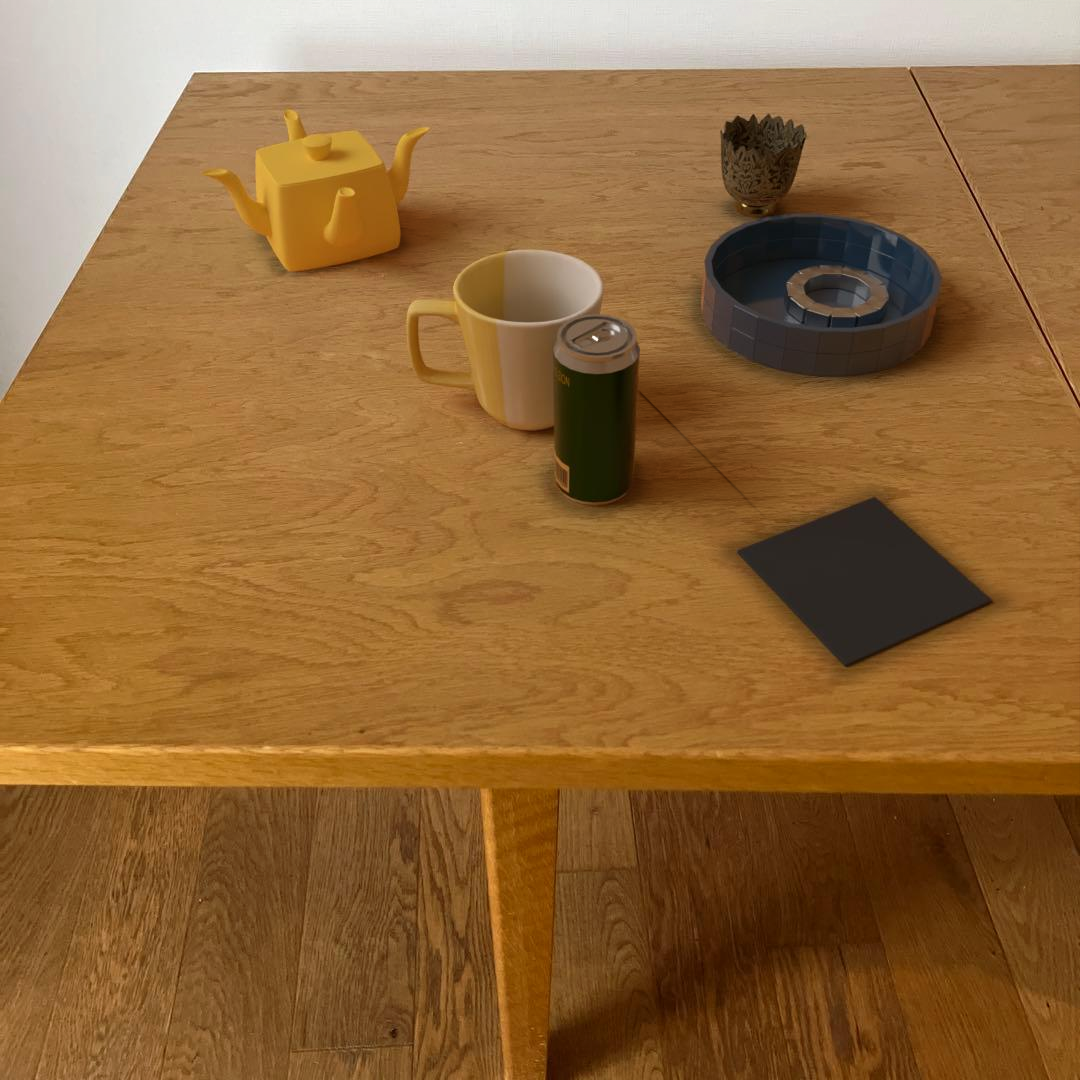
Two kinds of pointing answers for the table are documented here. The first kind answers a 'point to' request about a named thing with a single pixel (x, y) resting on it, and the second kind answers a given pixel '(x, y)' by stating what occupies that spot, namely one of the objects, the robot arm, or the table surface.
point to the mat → (862, 580)
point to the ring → (836, 278)
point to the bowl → (817, 294)
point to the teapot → (324, 196)
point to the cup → (760, 162)
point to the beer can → (595, 408)
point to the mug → (510, 329)
